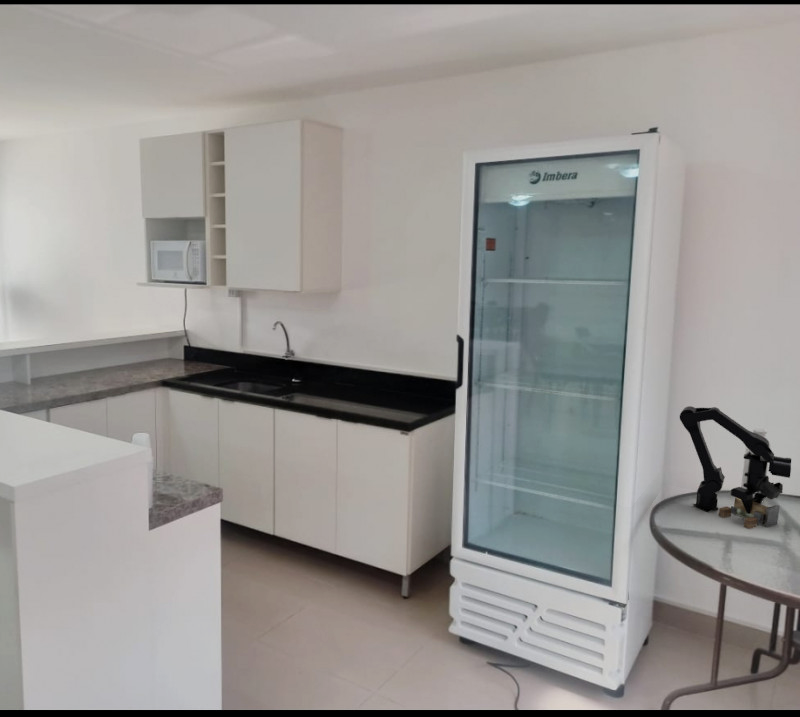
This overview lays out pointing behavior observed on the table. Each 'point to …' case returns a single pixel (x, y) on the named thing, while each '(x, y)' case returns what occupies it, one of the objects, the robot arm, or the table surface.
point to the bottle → (746, 461)
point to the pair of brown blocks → (748, 522)
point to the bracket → (760, 515)
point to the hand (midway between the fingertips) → (751, 512)
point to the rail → (755, 506)
